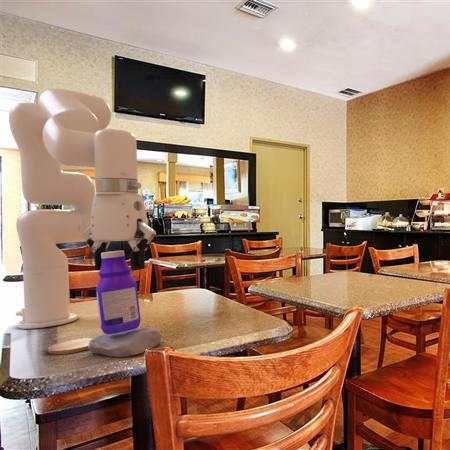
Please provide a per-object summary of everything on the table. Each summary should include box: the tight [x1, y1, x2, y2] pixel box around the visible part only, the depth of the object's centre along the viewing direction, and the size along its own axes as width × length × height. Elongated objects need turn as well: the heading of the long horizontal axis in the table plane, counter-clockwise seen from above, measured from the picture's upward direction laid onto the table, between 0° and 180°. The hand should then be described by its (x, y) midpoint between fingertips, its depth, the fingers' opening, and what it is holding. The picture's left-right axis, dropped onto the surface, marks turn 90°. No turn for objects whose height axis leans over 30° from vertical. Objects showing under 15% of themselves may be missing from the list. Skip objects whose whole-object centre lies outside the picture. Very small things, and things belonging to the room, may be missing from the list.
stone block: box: [87, 326, 162, 358], centre depth 89 cm, size 12×5×10 cm
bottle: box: [95, 249, 142, 334], centre depth 88 cm, size 7×6×17 cm
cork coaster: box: [47, 337, 94, 355], centre depth 91 cm, size 9×9×1 cm
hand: (120, 269), depth 88 cm, fingers open, 7 cm apart
